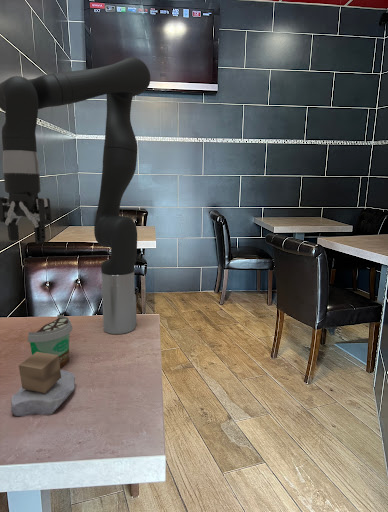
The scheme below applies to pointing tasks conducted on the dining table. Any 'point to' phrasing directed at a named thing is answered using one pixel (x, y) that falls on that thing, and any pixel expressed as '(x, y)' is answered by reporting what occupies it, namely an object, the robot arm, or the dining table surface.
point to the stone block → (43, 397)
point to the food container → (53, 339)
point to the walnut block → (40, 372)
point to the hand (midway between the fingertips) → (26, 241)
